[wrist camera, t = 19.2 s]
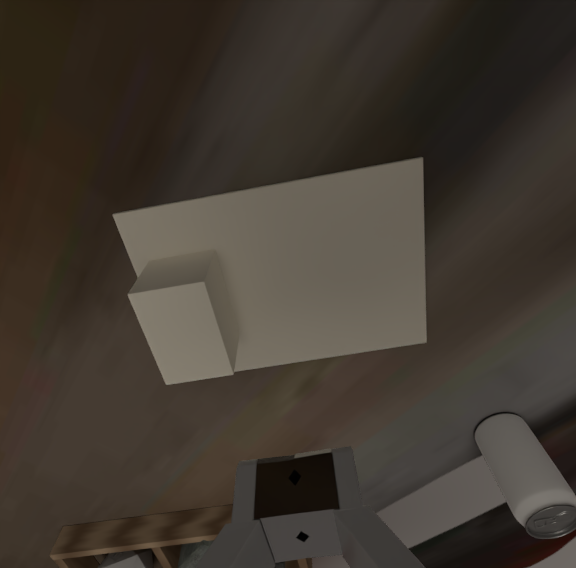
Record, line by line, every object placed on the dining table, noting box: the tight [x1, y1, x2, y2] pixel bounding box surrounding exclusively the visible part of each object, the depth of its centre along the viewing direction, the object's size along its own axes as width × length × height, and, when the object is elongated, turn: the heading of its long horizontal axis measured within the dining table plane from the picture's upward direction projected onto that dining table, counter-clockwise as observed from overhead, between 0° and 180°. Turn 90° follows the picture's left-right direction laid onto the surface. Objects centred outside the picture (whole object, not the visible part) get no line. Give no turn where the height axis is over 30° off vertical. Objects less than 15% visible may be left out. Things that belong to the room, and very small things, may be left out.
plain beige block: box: [127, 249, 240, 385], centre depth 39 cm, size 6×10×6 cm, turn 10°
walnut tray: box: [50, 504, 312, 568], centre depth 61 cm, size 35×16×4 cm, turn 100°
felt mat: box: [113, 157, 427, 372], centre depth 41 cm, size 28×20×1 cm
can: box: [475, 413, 576, 539], centre depth 47 cm, size 6×6×12 cm
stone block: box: [178, 540, 285, 568], centre depth 60 cm, size 9×14×5 cm, turn 57°
